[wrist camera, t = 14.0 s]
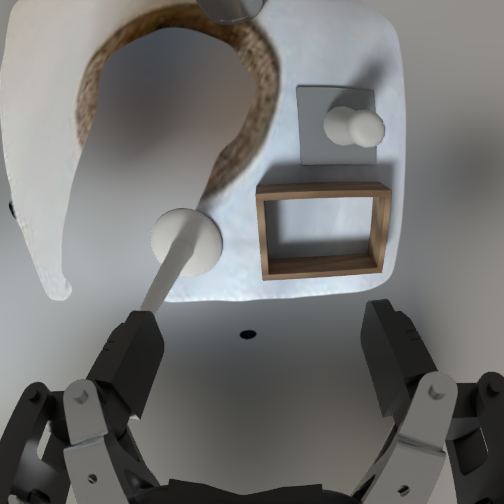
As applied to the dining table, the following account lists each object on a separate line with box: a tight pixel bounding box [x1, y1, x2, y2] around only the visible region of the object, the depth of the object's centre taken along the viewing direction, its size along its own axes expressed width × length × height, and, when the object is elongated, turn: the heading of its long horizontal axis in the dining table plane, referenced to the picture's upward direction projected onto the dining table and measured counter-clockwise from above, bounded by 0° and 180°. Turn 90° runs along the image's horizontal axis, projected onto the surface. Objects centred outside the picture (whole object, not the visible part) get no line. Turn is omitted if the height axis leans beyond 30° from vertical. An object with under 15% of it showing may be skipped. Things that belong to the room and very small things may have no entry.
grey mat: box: [296, 87, 376, 165], centre depth 36 cm, size 12×12×1 cm
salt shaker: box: [324, 106, 385, 148], centre depth 30 cm, size 6×6×13 cm
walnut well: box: [255, 182, 392, 281], centre depth 42 cm, size 14×20×5 cm
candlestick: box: [138, 208, 222, 316], centre depth 33 cm, size 13×13×30 cm
